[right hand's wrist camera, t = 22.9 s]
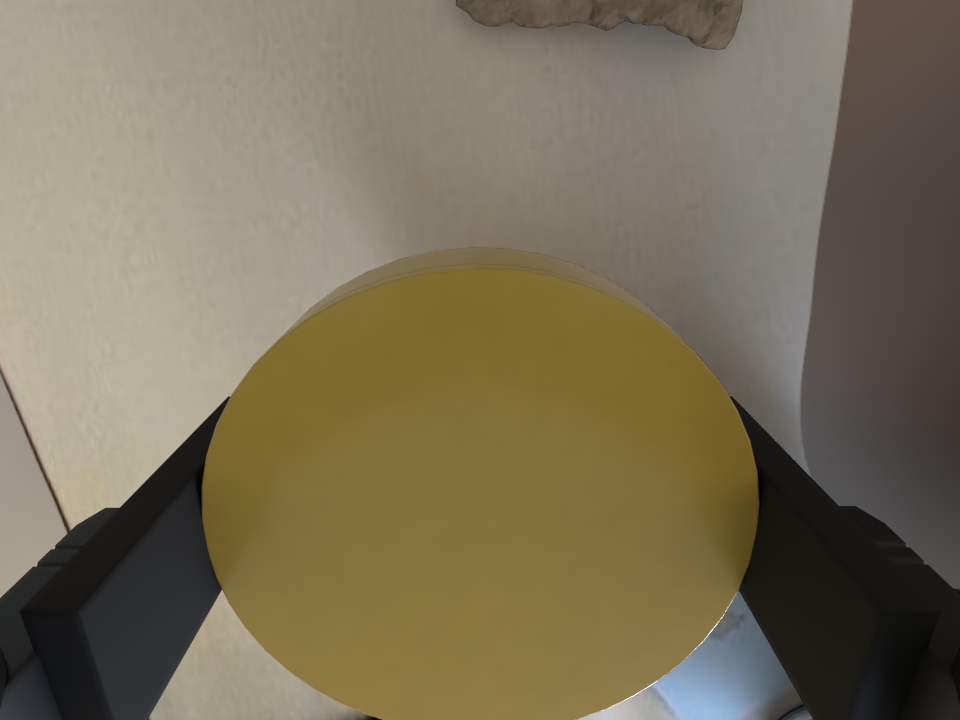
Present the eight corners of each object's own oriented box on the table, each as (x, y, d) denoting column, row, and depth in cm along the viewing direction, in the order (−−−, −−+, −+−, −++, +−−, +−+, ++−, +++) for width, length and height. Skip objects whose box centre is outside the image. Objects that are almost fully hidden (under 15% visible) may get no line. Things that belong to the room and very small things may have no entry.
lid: (250, 645, 14) (217, 717, 12) (227, 219, 10) (176, 236, 9) (663, 675, 14) (688, 750, 13) (778, 275, 11) (836, 302, 9)
